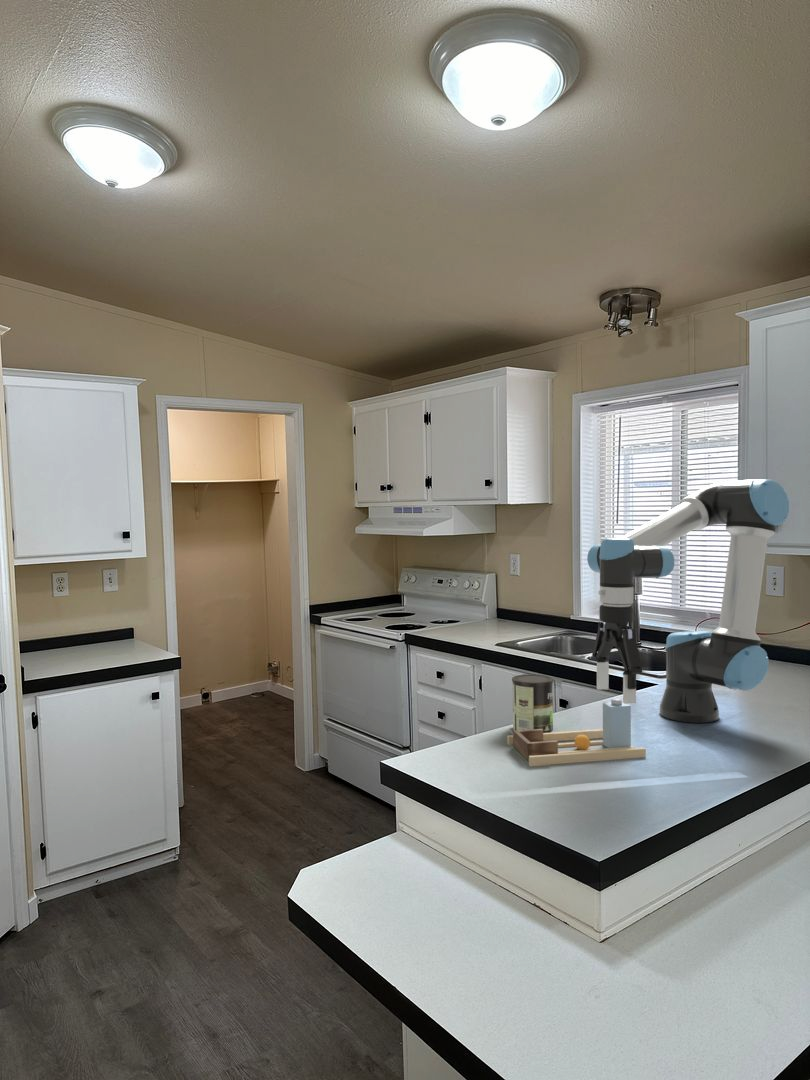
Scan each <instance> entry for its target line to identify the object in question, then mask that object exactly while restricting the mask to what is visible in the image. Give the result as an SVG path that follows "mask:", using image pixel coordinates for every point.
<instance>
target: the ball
mask: <svg viewBox="0 0 810 1080" xmlns="http://www.w3.org/2000/svg"><path fill="white" fill-rule="evenodd" d="M590 741H591V739H589V738H588V737H587V736H585V735H579V736H577V737H576V739H575V740H574V743H575V746H574V747H576V749H577V750H589V748H590V747H591V745H590Z"/></svg>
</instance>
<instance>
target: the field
mask: <svg viewBox="0 0 810 1080" xmlns="http://www.w3.org/2000/svg"><path fill="white" fill-rule="evenodd" d="M579 735H585V736H587V737H588V738H589V740H590V746H597V745H603V740H594V739H603V728H601V729H585V730H582V729H581V730H573V731H572V730H569V731H567V730H566V731H556V732H554V731H552V732H550V733H543V741H554V740H556V741H558V742H561V743H558V749H559V748H569V747H576V746H575V742H566V741H575V739H576V737H577V736H579ZM506 737H507V738H506V739H507V741H506V743H507V745H508V746H509V747H510V748H511V750H512V751H514V752H515V754H517V755H518V756H519V757H520V758H521V759H522V760H523V761H524V763H526V764H527V765H528V766H529V767H543V766H549V765H557V764H558V765H559V764H571V763H572V764H573V763H574V764H575V763H585V762H598V761H612V760H623V759H625V760H626V759H639V758H646V757H647V755H646V754H647V753H646V751H647V748H645V747H635V746H631V747H619V748H607V747H605V748H596V749H595V748H594V749H586V750H579V749H577V750H566V751H564V750H563V751H558V754H548V755H534V756H529V762H528V761H527V760H526V759H525V758H524V757H523V756H522V755H520V754H519V753H518V752H517V751H516V750H515V749H514V748H513V734H511V735H508V734H507V735H506ZM592 739H593V740H592ZM591 740H592V741H591ZM563 741H565V742H564V743H562V742H563Z"/></svg>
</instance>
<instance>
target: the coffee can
mask: <svg viewBox="0 0 810 1080" xmlns="http://www.w3.org/2000/svg"><path fill="white" fill-rule="evenodd" d="M511 681H512V726H513V727H512V729H513V731H517V730H532V729H543V733H552V732H554V731H553V730H554V709H553V708H554V707H553V706H554V704H553V703H554V698H553V697H554V696H553V694H554V693H553V689H554V688H553V684H554V683H553V682H554V678H553V677H551V676H547V675H545V674H535V673H533V674H529V673H526V674H517V675H515V676H512V677H511Z"/></svg>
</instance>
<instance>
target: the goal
mask: <svg viewBox="0 0 810 1080" xmlns="http://www.w3.org/2000/svg"><path fill="white" fill-rule="evenodd" d="M512 733H513V734H512V735H513V748H514V749H515V750H516V751H517V752H518V753H519V754H520V755H522V756H523V757H524V758H525V759H526V760H527V761H528V762H529V756H534V755H548V754H558V752H559V748H558V744H559V741H556V740H554V741H543V729H532V730H517V731H515V730H513V732H512Z"/></svg>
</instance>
